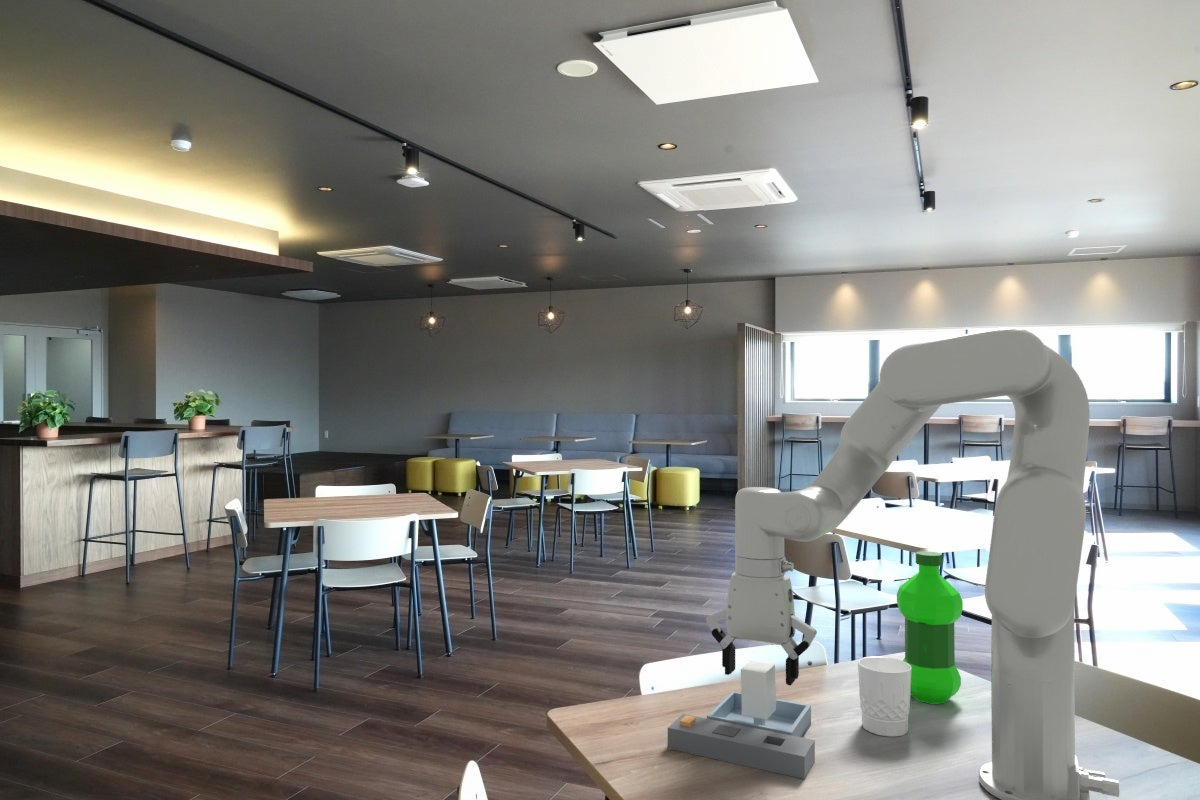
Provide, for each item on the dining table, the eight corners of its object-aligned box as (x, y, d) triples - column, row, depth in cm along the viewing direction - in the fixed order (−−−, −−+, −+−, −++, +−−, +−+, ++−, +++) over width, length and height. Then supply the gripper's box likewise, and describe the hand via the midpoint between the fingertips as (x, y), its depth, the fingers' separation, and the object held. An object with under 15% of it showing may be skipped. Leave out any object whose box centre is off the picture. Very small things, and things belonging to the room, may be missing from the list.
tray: (811, 724, 122) (811, 705, 122) (791, 753, 112) (791, 732, 112) (732, 709, 128) (732, 691, 128) (706, 735, 118) (706, 715, 118)
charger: (776, 723, 121) (774, 664, 121) (767, 734, 117) (765, 672, 117) (752, 719, 123) (750, 661, 123) (742, 729, 119) (740, 669, 119)
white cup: (854, 732, 119) (854, 667, 119) (862, 715, 126) (862, 653, 126) (908, 742, 116) (908, 675, 116) (914, 724, 122) (914, 660, 123)
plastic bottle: (887, 698, 134) (886, 553, 134) (915, 683, 141) (914, 546, 141) (945, 714, 126) (944, 561, 127) (972, 698, 133) (971, 553, 134)
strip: (814, 761, 109) (814, 735, 109) (804, 779, 104) (804, 752, 104) (683, 733, 119) (683, 709, 119) (667, 748, 113) (667, 723, 113)
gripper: (821, 568, 120) (821, 679, 119) (715, 558, 128) (715, 662, 128) (810, 577, 113) (810, 694, 113) (698, 566, 121) (698, 675, 121)
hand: (759, 677), depth 120 cm, fingers open, 9 cm apart
